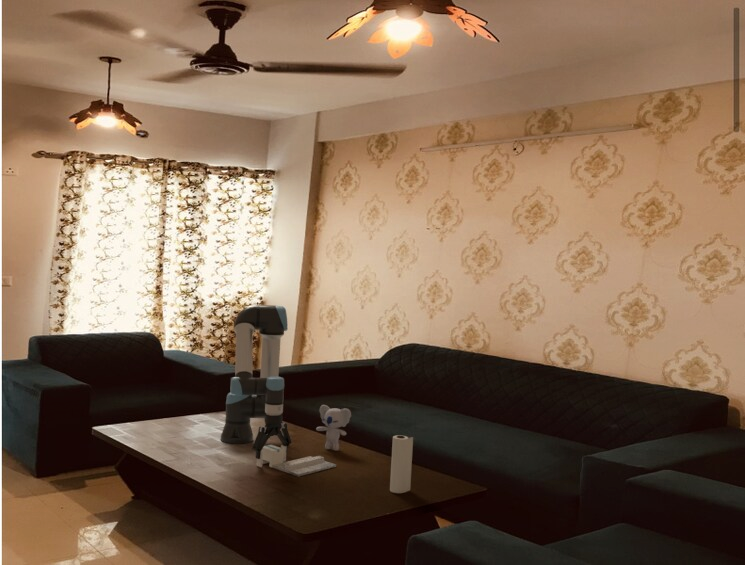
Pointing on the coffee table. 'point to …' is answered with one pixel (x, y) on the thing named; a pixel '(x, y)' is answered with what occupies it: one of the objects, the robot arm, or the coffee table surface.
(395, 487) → the paper towel roll
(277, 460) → the block
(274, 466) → the grey flat board
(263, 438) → the robot arm
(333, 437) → the toy
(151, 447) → the coffee table surface
